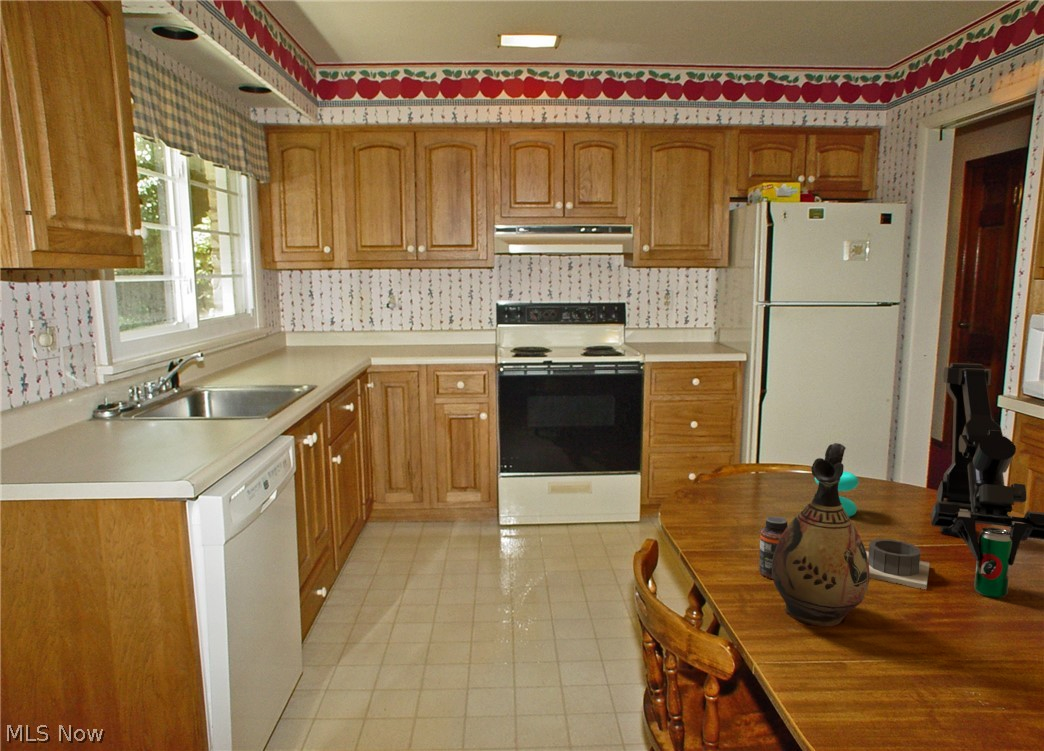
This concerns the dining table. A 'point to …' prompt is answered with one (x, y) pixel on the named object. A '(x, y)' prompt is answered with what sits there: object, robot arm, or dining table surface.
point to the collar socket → (897, 563)
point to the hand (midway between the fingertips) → (994, 562)
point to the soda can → (993, 562)
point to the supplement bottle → (770, 543)
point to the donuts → (845, 484)
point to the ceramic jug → (822, 553)
